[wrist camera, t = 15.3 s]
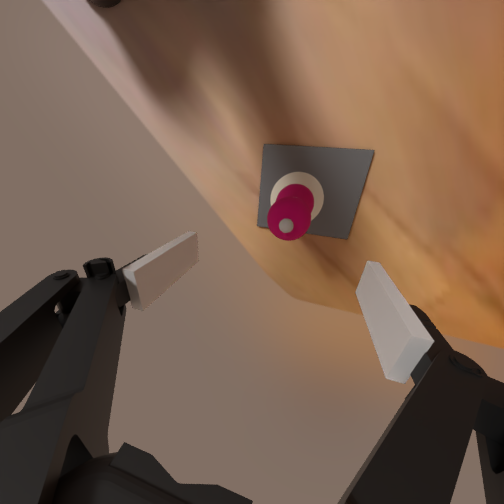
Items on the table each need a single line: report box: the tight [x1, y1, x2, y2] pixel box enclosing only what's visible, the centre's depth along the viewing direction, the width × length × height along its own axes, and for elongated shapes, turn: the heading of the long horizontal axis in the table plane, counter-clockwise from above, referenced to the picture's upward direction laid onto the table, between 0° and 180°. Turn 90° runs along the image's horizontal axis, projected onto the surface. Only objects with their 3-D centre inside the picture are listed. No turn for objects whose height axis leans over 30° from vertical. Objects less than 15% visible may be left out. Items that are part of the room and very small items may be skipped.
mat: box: [257, 144, 374, 239], centre depth 40 cm, size 20×17×1 cm
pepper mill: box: [267, 184, 314, 241], centre depth 32 cm, size 7×7×20 cm
